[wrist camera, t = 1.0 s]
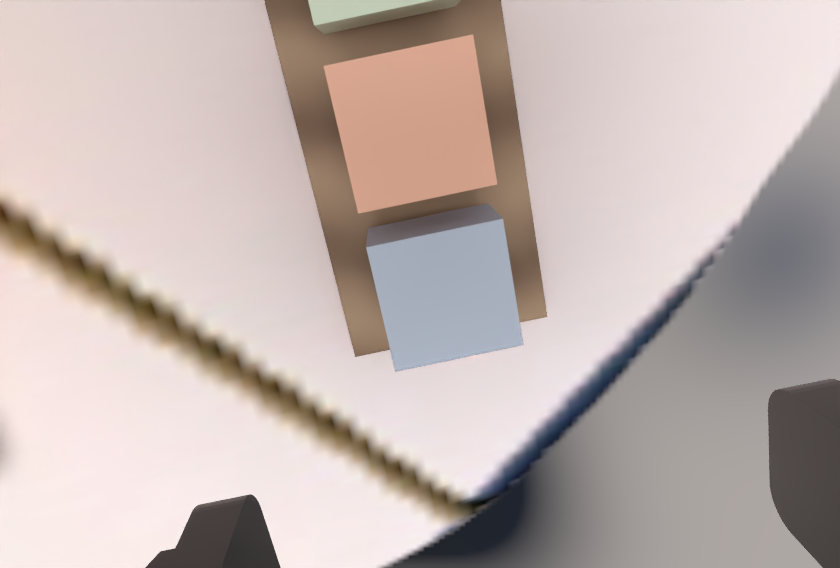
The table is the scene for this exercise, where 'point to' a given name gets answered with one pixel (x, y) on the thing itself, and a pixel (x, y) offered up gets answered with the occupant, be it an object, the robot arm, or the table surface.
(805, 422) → the robot arm
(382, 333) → the board
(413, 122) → the button terracotta
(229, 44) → the table surface
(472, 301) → the button slate
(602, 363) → the table surface
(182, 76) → the table surface
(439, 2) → the button sage
